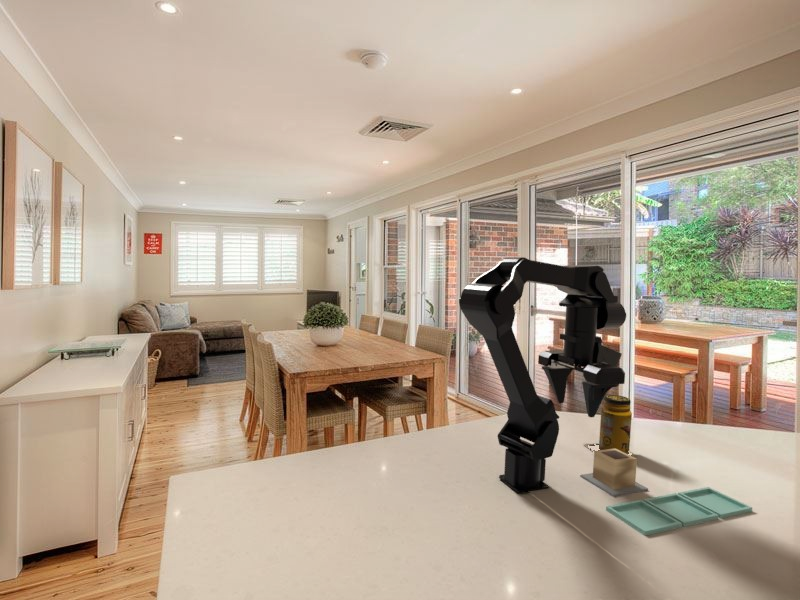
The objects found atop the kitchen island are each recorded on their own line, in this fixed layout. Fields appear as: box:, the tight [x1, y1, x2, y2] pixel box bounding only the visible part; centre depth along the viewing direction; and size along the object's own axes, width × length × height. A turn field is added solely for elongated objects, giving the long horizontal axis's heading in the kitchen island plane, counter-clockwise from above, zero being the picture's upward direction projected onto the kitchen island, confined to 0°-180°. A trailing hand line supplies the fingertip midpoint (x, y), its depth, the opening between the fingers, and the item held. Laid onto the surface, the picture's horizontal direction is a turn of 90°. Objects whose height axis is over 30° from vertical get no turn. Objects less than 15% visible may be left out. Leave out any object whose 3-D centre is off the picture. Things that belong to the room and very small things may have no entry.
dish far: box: [677, 486, 753, 519], centre depth 79 cm, size 8×8×1 cm
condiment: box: [583, 394, 636, 457], centre depth 101 cm, size 7×8×12 cm
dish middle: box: [642, 492, 719, 528], centre depth 76 cm, size 8×8×1 cm
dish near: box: [605, 499, 683, 536], centre depth 73 cm, size 8×8×1 cm
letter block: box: [592, 448, 638, 490], centre depth 85 cm, size 5×5×5 cm
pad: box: [579, 472, 649, 498], centre depth 85 cm, size 8×8×1 cm
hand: (575, 409), depth 91 cm, fingers open, 9 cm apart
